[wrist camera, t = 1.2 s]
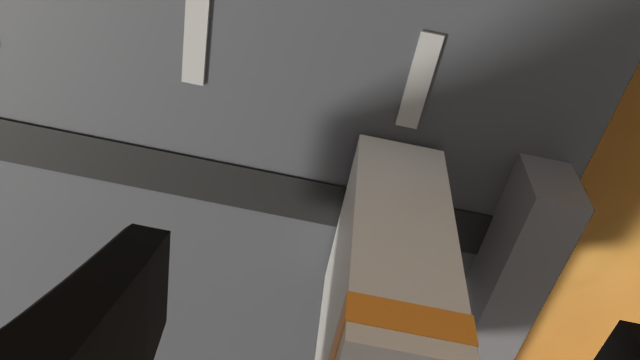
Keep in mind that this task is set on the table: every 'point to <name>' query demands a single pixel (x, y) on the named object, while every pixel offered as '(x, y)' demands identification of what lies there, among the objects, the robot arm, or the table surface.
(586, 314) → the table surface
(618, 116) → the table surface
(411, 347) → the fader tab
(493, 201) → the console
